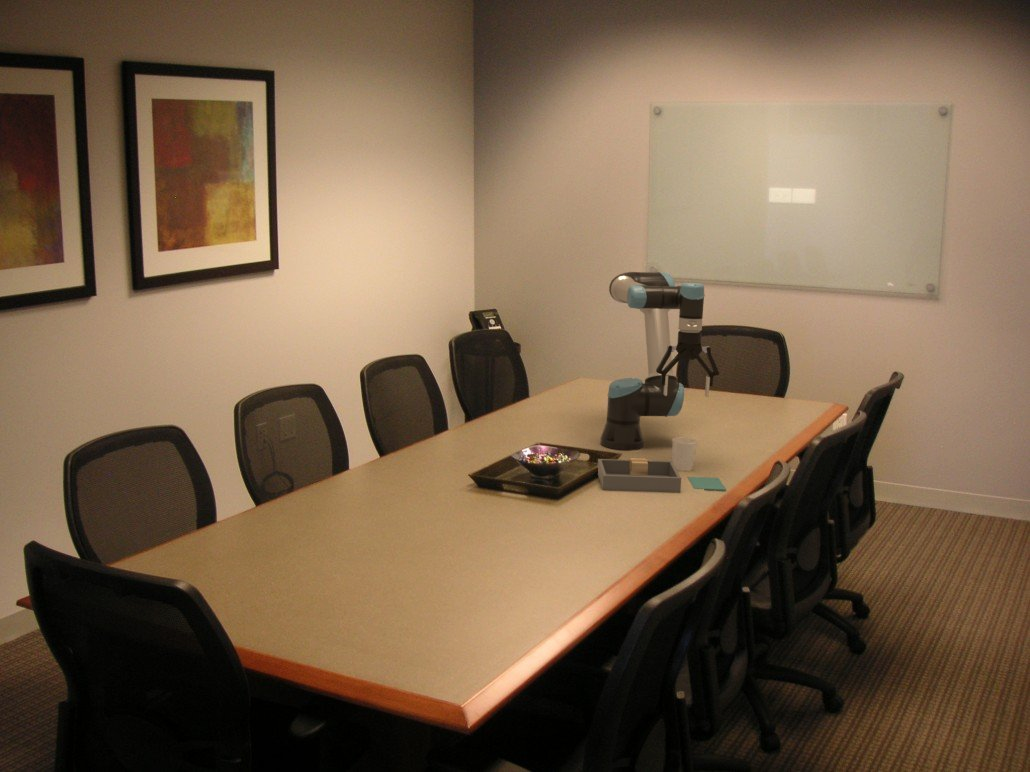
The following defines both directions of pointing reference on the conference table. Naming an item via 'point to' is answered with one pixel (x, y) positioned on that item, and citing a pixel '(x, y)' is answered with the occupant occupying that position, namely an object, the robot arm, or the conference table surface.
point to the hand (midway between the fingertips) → (686, 395)
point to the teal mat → (707, 483)
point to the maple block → (638, 467)
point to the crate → (657, 479)
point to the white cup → (683, 453)
